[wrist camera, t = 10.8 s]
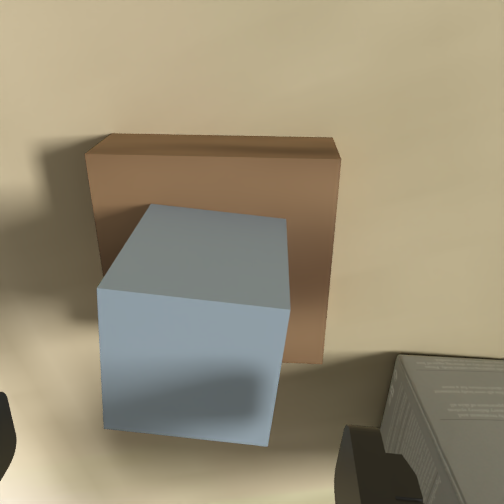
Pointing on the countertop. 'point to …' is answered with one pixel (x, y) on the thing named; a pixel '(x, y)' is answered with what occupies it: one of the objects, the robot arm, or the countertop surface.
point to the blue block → (195, 325)
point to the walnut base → (230, 203)
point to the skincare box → (449, 426)
